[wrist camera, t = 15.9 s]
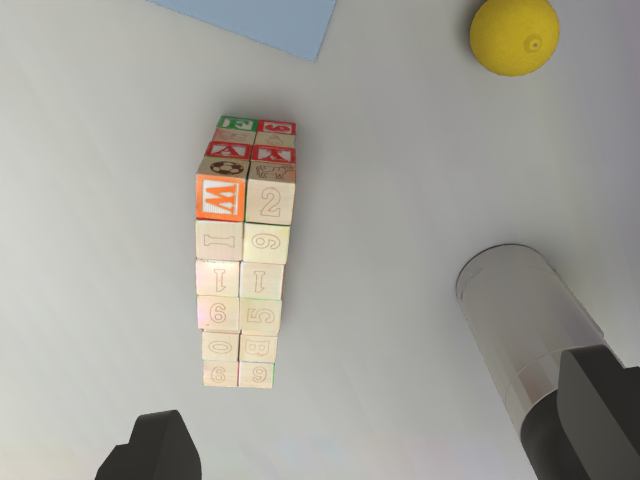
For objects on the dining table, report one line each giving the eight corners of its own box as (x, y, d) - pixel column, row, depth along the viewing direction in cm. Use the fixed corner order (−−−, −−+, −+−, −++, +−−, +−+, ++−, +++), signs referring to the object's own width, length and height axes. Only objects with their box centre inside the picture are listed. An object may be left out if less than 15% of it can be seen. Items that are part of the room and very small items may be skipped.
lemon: (445, 49, 40) (476, 73, 33) (478, -27, 38) (519, -18, 31) (507, 71, 41) (550, 100, 34) (544, -1, 39) (597, 14, 32)
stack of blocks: (275, 322, 54) (271, 418, 43) (214, 317, 53) (194, 414, 42) (296, 121, 43) (297, 183, 32) (219, 113, 42) (194, 174, 32)
